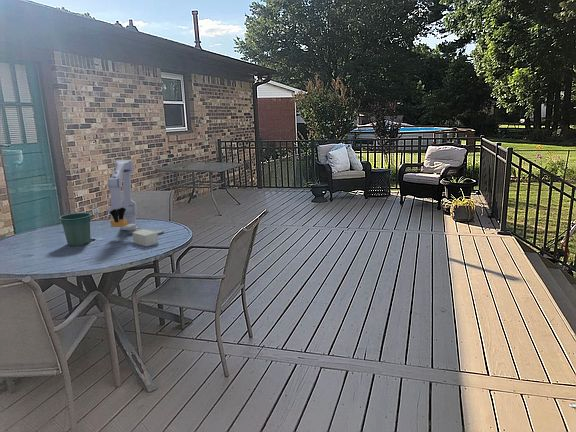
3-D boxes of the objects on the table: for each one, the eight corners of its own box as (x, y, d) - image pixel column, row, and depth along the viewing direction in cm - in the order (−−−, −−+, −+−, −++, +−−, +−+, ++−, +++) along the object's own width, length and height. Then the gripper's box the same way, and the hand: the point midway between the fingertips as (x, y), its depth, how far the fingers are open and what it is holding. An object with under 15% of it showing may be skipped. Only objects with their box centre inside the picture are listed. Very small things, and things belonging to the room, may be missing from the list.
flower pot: (82, 247, 243) (78, 219, 239) (56, 246, 246) (52, 218, 243) (100, 239, 259) (97, 212, 255) (75, 238, 262) (72, 212, 258)
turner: (108, 227, 257) (107, 220, 257) (117, 224, 264) (116, 218, 263) (128, 228, 251) (126, 221, 250) (136, 225, 257) (135, 218, 257)
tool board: (127, 234, 269) (127, 232, 269) (139, 230, 278) (138, 228, 278) (152, 237, 261) (152, 235, 261) (164, 233, 270) (163, 231, 270)
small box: (133, 243, 250) (145, 246, 241) (132, 232, 248) (144, 235, 240) (146, 240, 256) (158, 243, 247) (144, 229, 254) (157, 232, 246)
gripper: (111, 201, 247) (114, 224, 250) (130, 196, 260) (133, 219, 263) (102, 200, 250) (105, 223, 253) (121, 196, 263) (124, 218, 266)
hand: (118, 221), depth 258 cm, fingers closed on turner, 3 cm apart
